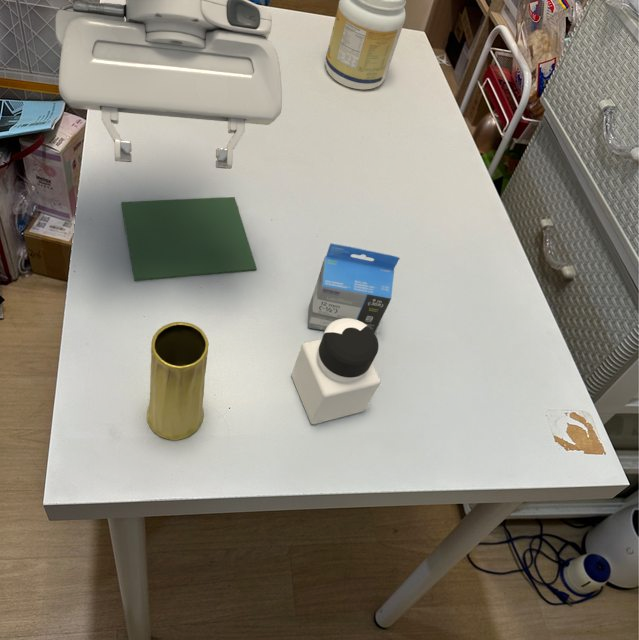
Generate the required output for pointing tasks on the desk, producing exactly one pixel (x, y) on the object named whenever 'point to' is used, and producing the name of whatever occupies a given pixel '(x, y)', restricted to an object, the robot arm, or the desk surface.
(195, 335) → the vase
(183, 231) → the green mat
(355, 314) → the label tape box
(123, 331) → the desk surface
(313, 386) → the medicine bottle
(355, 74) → the supplement tub
